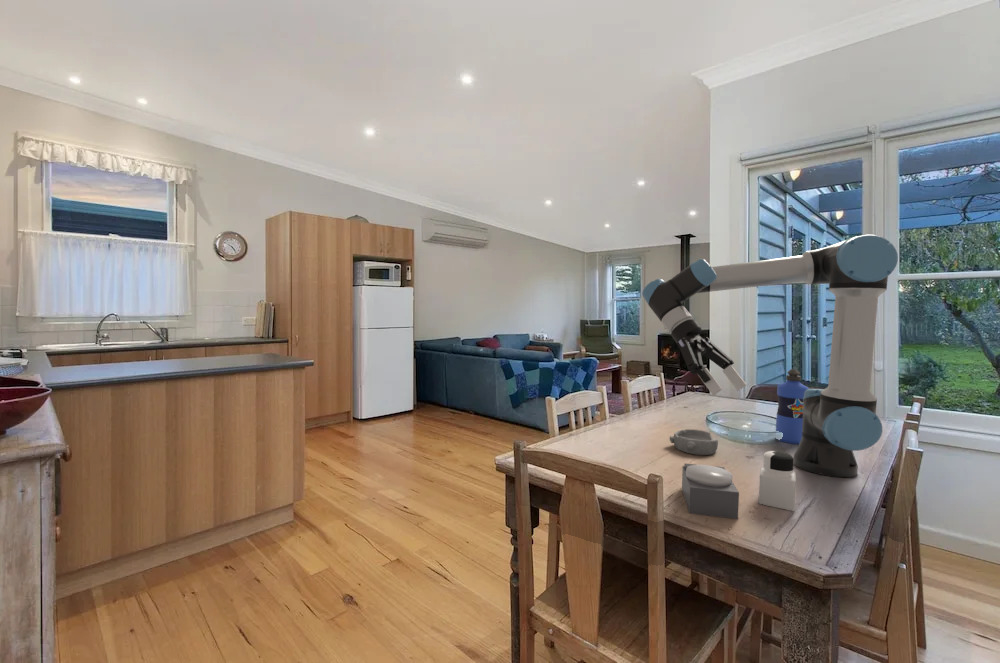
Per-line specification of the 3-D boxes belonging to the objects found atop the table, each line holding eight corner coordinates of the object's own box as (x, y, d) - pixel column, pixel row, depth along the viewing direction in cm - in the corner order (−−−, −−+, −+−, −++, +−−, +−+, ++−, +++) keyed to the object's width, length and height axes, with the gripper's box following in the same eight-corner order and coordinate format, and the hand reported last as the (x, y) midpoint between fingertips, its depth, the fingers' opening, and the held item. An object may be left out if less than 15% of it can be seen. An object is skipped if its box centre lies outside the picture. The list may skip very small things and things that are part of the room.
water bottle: (812, 444, 154) (816, 371, 152) (785, 444, 154) (788, 371, 153) (795, 436, 163) (798, 367, 162) (769, 436, 163) (772, 367, 162)
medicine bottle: (794, 500, 110) (796, 452, 109) (794, 511, 104) (796, 460, 103) (760, 493, 113) (762, 446, 113) (758, 504, 107) (760, 454, 107)
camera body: (724, 493, 113) (725, 464, 113) (737, 519, 100) (739, 485, 99) (681, 489, 116) (682, 460, 116) (689, 513, 102) (690, 480, 102)
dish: (701, 442, 157) (702, 428, 156) (728, 455, 143) (729, 439, 143) (663, 444, 154) (663, 429, 154) (686, 457, 140) (687, 441, 140)
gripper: (694, 334, 137) (740, 393, 127) (646, 335, 121) (694, 402, 111) (713, 318, 132) (763, 378, 122) (666, 316, 117) (718, 385, 106)
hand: (730, 390), depth 116 cm, fingers open, 13 cm apart
